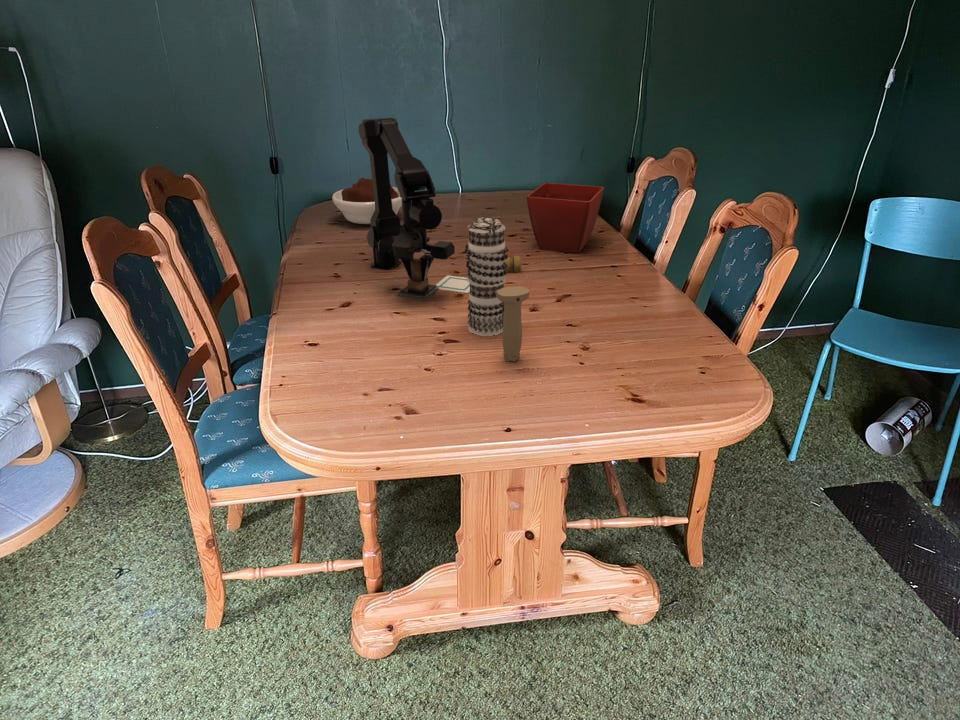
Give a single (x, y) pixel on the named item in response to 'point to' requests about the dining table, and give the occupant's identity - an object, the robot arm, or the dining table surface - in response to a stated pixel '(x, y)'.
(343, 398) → the dining table surface
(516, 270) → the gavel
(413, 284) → the stamp
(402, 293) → the ink pad
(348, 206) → the bowl of chocolate pudding
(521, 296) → the handle
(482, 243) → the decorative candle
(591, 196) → the plant pot
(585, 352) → the dining table surface
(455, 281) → the print card
